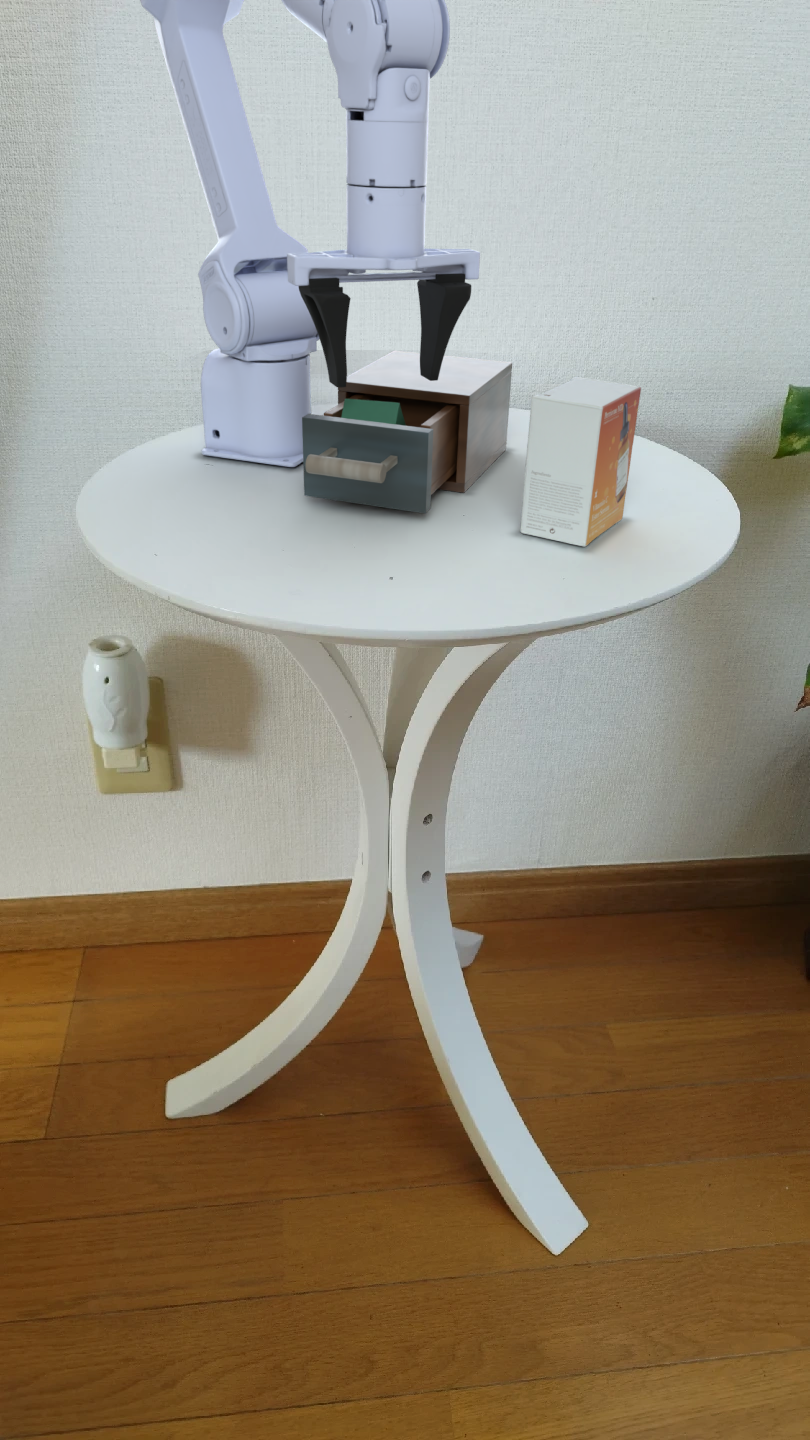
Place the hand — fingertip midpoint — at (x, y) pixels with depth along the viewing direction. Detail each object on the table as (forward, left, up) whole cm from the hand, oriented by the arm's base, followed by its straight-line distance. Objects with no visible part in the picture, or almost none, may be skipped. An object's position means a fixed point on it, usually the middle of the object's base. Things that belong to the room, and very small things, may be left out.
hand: (384, 381), depth 79 cm
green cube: (-1, -1, -6) cm, 6 cm away
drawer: (0, 0, -9) cm, 9 cm away
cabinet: (0, +11, -10) cm, 15 cm away
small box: (+16, 0, -10) cm, 19 cm away
